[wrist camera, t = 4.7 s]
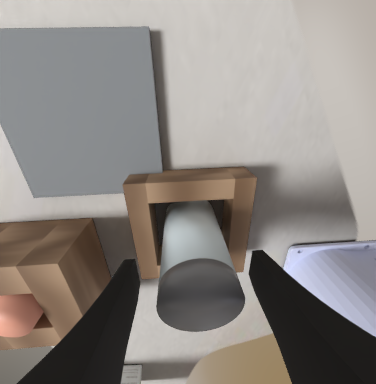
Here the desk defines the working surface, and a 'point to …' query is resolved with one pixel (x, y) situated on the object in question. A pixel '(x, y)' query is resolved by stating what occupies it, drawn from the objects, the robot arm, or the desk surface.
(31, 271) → the plunger housing
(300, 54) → the desk surface
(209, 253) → the cylinder
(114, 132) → the pad
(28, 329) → the plunger
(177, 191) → the sleeve
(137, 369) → the skincare box
